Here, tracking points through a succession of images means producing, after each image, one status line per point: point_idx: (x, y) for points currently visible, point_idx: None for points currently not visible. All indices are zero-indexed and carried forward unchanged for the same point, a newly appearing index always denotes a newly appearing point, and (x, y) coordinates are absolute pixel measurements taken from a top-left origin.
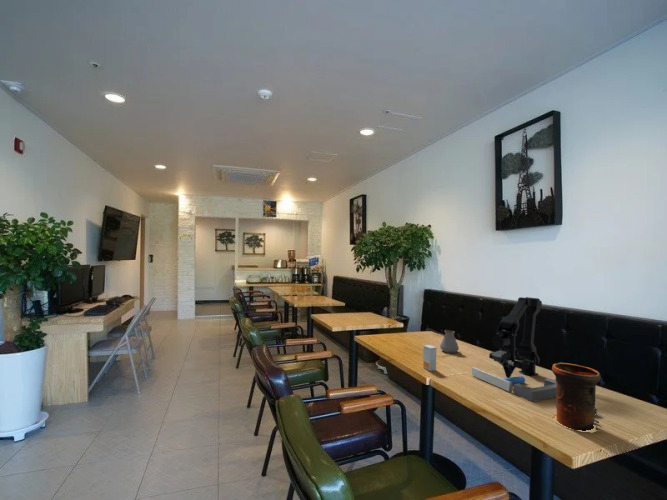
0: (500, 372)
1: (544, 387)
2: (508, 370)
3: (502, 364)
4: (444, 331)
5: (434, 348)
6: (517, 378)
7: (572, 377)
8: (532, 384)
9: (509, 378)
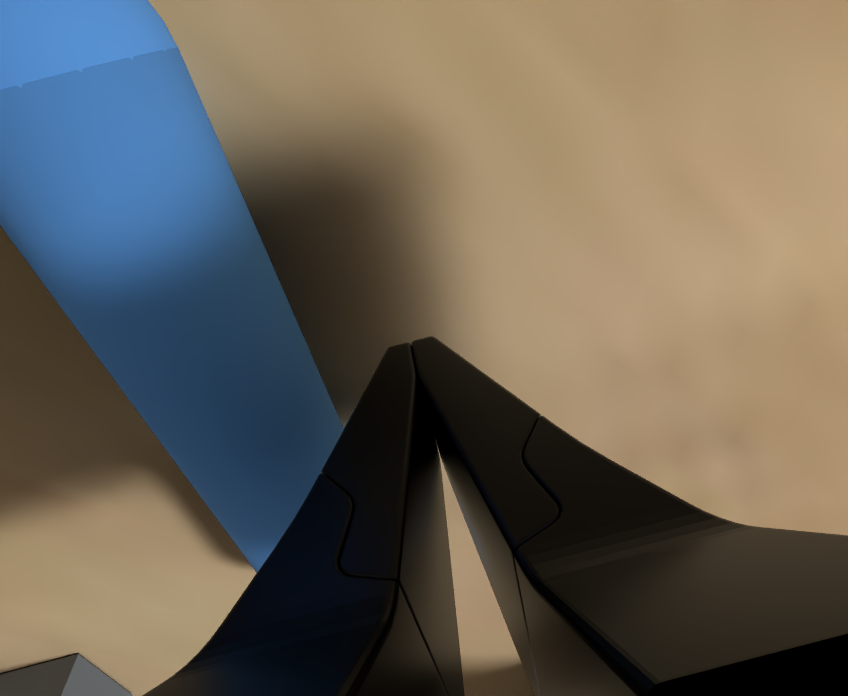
0: (823, 425)
1: None
2: (324, 513)
3: (702, 606)
4: None
5: None
6: (209, 499)
7: None
8: (230, 594)
9: (89, 277)
